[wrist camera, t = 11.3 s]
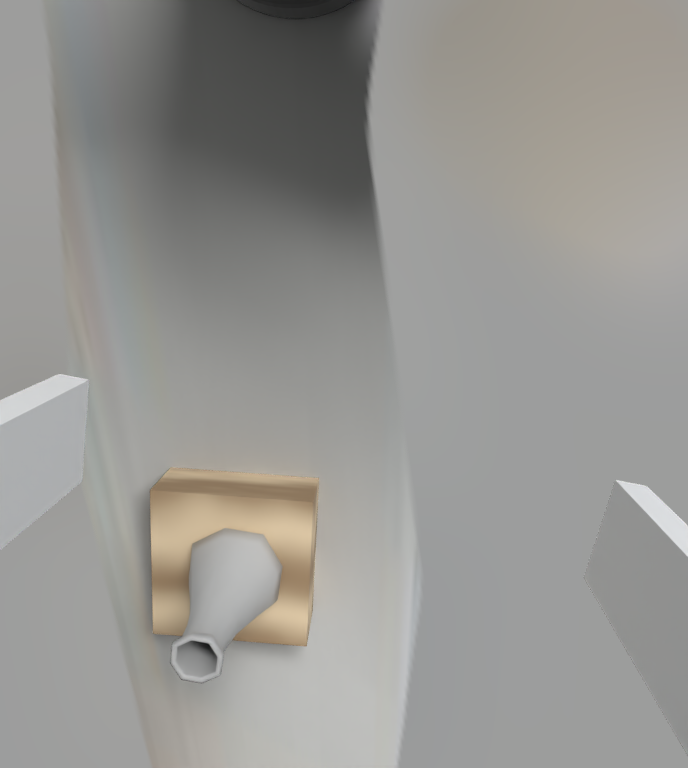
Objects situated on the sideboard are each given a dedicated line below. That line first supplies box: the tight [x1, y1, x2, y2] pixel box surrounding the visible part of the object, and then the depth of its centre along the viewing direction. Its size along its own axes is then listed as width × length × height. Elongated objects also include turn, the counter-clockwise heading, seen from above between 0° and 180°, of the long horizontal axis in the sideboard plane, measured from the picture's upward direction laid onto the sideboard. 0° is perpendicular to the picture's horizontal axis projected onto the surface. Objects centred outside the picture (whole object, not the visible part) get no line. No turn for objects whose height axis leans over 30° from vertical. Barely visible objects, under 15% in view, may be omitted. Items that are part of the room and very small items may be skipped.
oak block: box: [150, 467, 319, 646], centre depth 47 cm, size 12×12×5 cm
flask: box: [170, 528, 283, 683], centre depth 40 cm, size 7×7×10 cm
